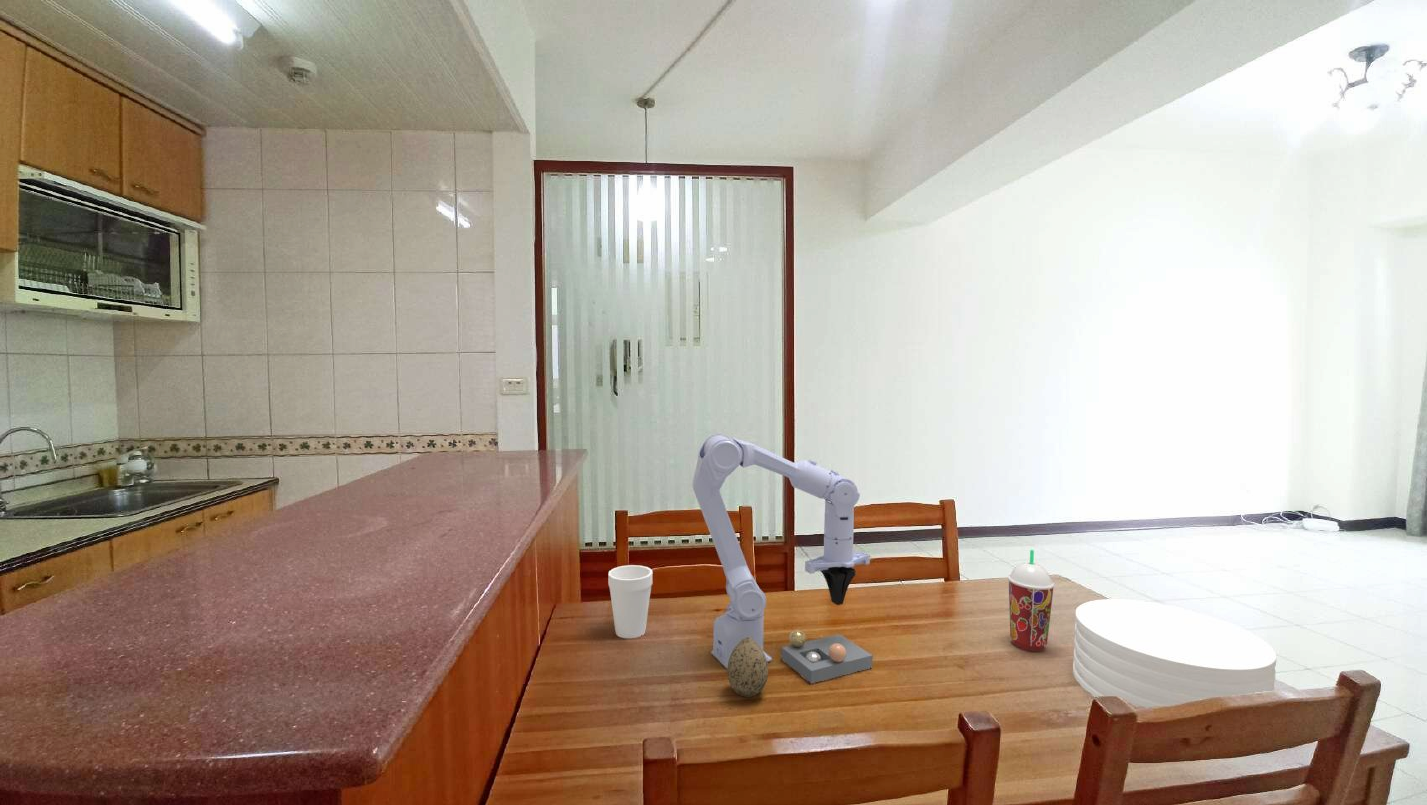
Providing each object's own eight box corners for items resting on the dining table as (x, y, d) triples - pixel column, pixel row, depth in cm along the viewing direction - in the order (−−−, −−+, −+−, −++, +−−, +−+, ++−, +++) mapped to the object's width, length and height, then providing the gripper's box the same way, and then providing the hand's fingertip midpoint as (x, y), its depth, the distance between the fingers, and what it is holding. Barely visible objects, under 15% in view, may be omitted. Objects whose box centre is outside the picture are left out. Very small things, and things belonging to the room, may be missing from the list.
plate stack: (1177, 654, 120) (1180, 598, 120) (1323, 740, 92) (1328, 668, 92) (1041, 655, 119) (1044, 599, 119) (1147, 742, 92) (1151, 670, 91)
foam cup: (656, 623, 132) (656, 566, 131) (647, 642, 123) (647, 581, 122) (614, 621, 133) (614, 564, 132) (602, 640, 124) (602, 579, 123)
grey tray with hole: (811, 684, 107) (811, 670, 107) (781, 659, 116) (781, 647, 116) (872, 668, 113) (872, 655, 113) (839, 645, 122) (839, 634, 122)
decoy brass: (795, 651, 114) (795, 635, 114) (786, 644, 117) (786, 628, 117) (808, 648, 116) (809, 632, 115) (799, 641, 118) (800, 625, 118)
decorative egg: (718, 695, 103) (719, 639, 103) (743, 679, 109) (744, 625, 108) (751, 710, 99) (752, 652, 98) (776, 693, 104) (776, 637, 103)
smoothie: (1057, 657, 118) (1061, 558, 117) (1012, 652, 120) (1016, 555, 119) (1043, 638, 126) (1047, 545, 125) (1001, 634, 128) (1004, 543, 127)
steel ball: (815, 674, 110) (821, 672, 113) (820, 657, 110) (826, 655, 113) (799, 665, 112) (806, 664, 115) (805, 649, 112) (811, 648, 115)
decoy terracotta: (835, 666, 108) (835, 649, 108) (825, 659, 111) (825, 642, 111) (849, 663, 110) (850, 646, 110) (838, 655, 113) (839, 639, 113)
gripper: (820, 546, 112) (819, 616, 113) (880, 537, 118) (879, 604, 119) (799, 536, 118) (798, 603, 119) (857, 528, 124) (856, 592, 125)
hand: (837, 603), depth 119 cm, fingers closed
